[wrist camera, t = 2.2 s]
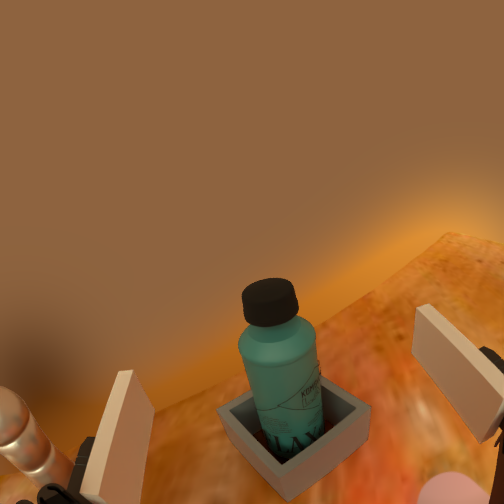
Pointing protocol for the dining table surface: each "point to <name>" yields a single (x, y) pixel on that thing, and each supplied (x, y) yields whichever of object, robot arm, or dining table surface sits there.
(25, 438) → the plastic bottle
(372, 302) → the dining table surface
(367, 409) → the bottle holder
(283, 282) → the beverage bottle
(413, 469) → the dining table surface
